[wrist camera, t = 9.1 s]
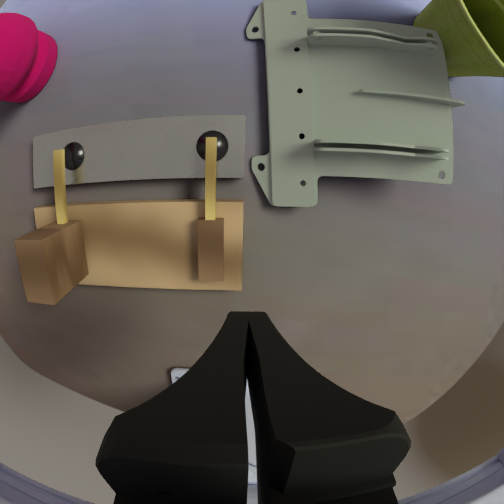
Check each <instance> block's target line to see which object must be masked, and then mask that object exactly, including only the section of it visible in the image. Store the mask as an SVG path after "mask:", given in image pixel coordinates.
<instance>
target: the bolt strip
mask: <svg viewBox="0 0 504 504" xmlns="http://www.w3.org/2000/svg"><path fill="white" fill-rule="evenodd" d="M245 122H246V115H198V116H175V117H159V118H147V119H136V120H127V121H118V122H111V123H103V124H97V125H90V126H84V127H78V128H73V129H67V130H62V131H57V132H53V133H48V134H43V135H39V136H35V137H33V179H34V188H42V187H50V186H54V170H53V151H54V150H60V149H65V185H70V184H80V183H92V182H105V181H121V180H139V179H165V178H205V159H206V137H216V138H217V157H216V178H244V158H245Z"/></svg>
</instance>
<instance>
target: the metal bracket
mask: <svg viewBox="0 0 504 504" xmlns="http://www.w3.org/2000/svg"><path fill="white" fill-rule="evenodd" d="M292 12H296V15H292V14H291V13H292ZM255 27H257V28H259V31H258V32H256V33H254V32H252V29H253V28H255ZM246 34H247V37H248V38H249V39H251V40H254V39H263V40H264V42H265V58H266V78H267V99H268V122H269V148H270V150H269V153H268V154H267V155H264V156H254V157H253V158H252V171H253V172H254V174H255V176H256V178H257V180H258V182H259V184H260V186H261V187H262V189H263V191H264V193H265V195H266V197H267V199H268V201H269V203H270V204H271V205H273V206H285V207H312V206H315V205H316V204H317V201H318V185H317V181H318V178H319V177H321V176H341V177H365V178H382V179H397V180H409V181H421V182H431V183H441V184H451V183H452V181H453V124H452V109H451V108H453V107H457V106H462V105H465V102H464V101H460V100H454V99H451V98H450V88H449V80H448V73H447V66H446V60H445V54H444V49H443V44H442V40H441V38H440V37H439V35H438V33H437V31H435V30H430V29H425V28H420V27H414V26H408V25H402V24H395V23H387V22H378V21H367V20H351V19H311V18H309V17H308V14H307V5H306V0H264V1H262V2H261V3H260V5H259V7H258V9H257V10H256V12H255V14H254V16H253V17H252V19H251V21H250V23H249V25H248V27H247V28H246ZM426 34H431V35H432V37H433V38H432V37H427V35H426ZM295 48H299V49H300V51H298V52H296V51H294V49H295ZM298 89H302V90H303V92H302V93H297V90H298ZM302 133H303V134H304V135H305V138H304V139H300V138H299V135H300V134H302ZM259 163H263V164H264V165H265V169H264V170H263V171H260V170H259V169H258V164H259ZM440 171H443V173H444V177H443V178H442V179H440V178H439V176H438V173H439V172H440ZM302 180H304V181H305V182H306V185H305V186H301V184H300V182H301V181H302Z"/></svg>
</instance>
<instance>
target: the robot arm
mask: <svg viewBox="0 0 504 504" xmlns="http://www.w3.org/2000/svg"><path fill="white" fill-rule="evenodd" d="M176 377H179V378H176ZM171 378H172V385H171V386H169V387H168V388H167V389H165V390H164V391H162V392H161V393H159V394H158V395H156V396H155V397H153V398H152V399H150V400H148V401H147V402H145V403H143V404H141V405H139V406H137V407H135V408H133V409H131V410H129V411H127V412H124V413H122V414H120V415H118V416H116V417H115V418H114V420H113V422H112V423H111V425H110V427H109V429H108V430H107V432H106V434H105V436H104V439H103V441H102V444H101V447H100V449H99V452H98V455H97V458H96V467H97V469H98V471H99V472H100V474H101V475H102V477H103V478H104V479H105V480H106V482H107V483H108V484H109V485H110V487H111V488H112V489H113V490H114V491H115V493H116V496H115V500H114V504H504V446H503V448H502V449H501V450H500V451H499V452H498V455H496V456H494V457H493V458H491V459H489V460H487V461H486V462H484V463H482V464H480V465H479V466H477V467H475V468H473V469H471V470H469V471H468V472H466V473H464V474H462V475H460V476H458V477H455V478H453V479H451V480H449V481H447V482H445V483H443V484H440V485H438V486H436V487H433V488H431V489H429V490H426V491H423V492H421V493H418V494H416V495H413V496H410V497H407V498H405V499H402V500H399V501H397V498H396V496H395V493H394V491H393V487H394V486H395V485H396V481H395V478H394V475H393V472H394V471H395V469H396V468H397V467H398V466H399V464H400V463H401V462H402V460H403V459H404V458H405V456H406V455H407V453H408V451H409V449H410V447H411V440H410V438H409V436H408V434H407V432H406V429H405V427H404V425H403V424H402V422H401V420H400V419H399V417H398V416H397V414H396V413H395V411H392V410H390V409H387V408H384V407H382V406H379V405H376V404H374V403H371V402H368V401H366V400H364V399H362V398H360V397H358V396H356V395H354V394H352V393H350V392H348V391H346V390H344V389H343V388H341V387H339V386H337V385H336V384H334V383H333V382H331V381H330V380H328V379H327V378H325V377H324V376H322V375H321V374H320V373H318V372H317V371H316V370H315V369H313V368H312V367H311V366H310V365H309V364H307V363H306V362H305V361H304V360H303V359H302V358H301V357H300V356H299V355H298V354H297V353H296V352H295V351H294V350H293V348H292V347H291V346H290V345H289V344H288V343H287V342H286V340H285V339H284V338H283V337H282V335H281V334H280V333H279V332H278V330H277V329H276V327H275V326H274V324H273V323H272V321H271V320H270V318H269V317H268V315H267V314H266V313H265V312H233V311H231V312H230V313H228V315H227V318H226V320H225V322H224V324H223V326H222V328H221V330H220V331H219V333H218V334H217V336H216V337H215V339H214V341H213V342H212V343H211V345H210V346H209V347H208V349H207V350H206V351H205V352H204V354H203V355H202V356H201V357H200V358H199V360H198V361H197V362H196V363H195V364H194V365H193V366H192V367H191V368H190V369H186V368H173V369H172V370H171ZM0 504H94V503H90V502H87V501H84V500H81V499H79V498H75V497H73V496H70V495H68V494H65V493H62V492H60V491H57V490H55V489H53V488H50V487H48V486H46V485H43V484H41V483H39V482H36V481H34V480H32V479H30V478H28V477H26V476H24V475H22V474H20V473H18V472H16V471H14V470H13V469H11V468H9V467H7V466H5V465H4V464H2V463H0Z"/></svg>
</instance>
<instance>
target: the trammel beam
mask: <svg viewBox="0 0 504 504" xmlns="http://www.w3.org/2000/svg"><path fill="white" fill-rule="evenodd" d="M216 157H217V138H216V137H206V159H205V199H169V200H129V201H104V202H85V203H69V204H67V214H68V220H82V227H83V236H84V244H85V252H86V259H87V266H88V272H89V274H88V275H87V276H86V277H85V278H84V279H83V280H82V281H81V282H79V283H78V284H84V285H100V286H118V287H139V288H163V289H195V290H242V250H243V200H239V199H216ZM34 213H35V222H36V230H37V229H39V228H41V227H43V226H45V225H48V224H50V223H52V222H55V221H57V217H56V206H55V204H54V205H42V206H39V207H36V208H34Z"/></svg>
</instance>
